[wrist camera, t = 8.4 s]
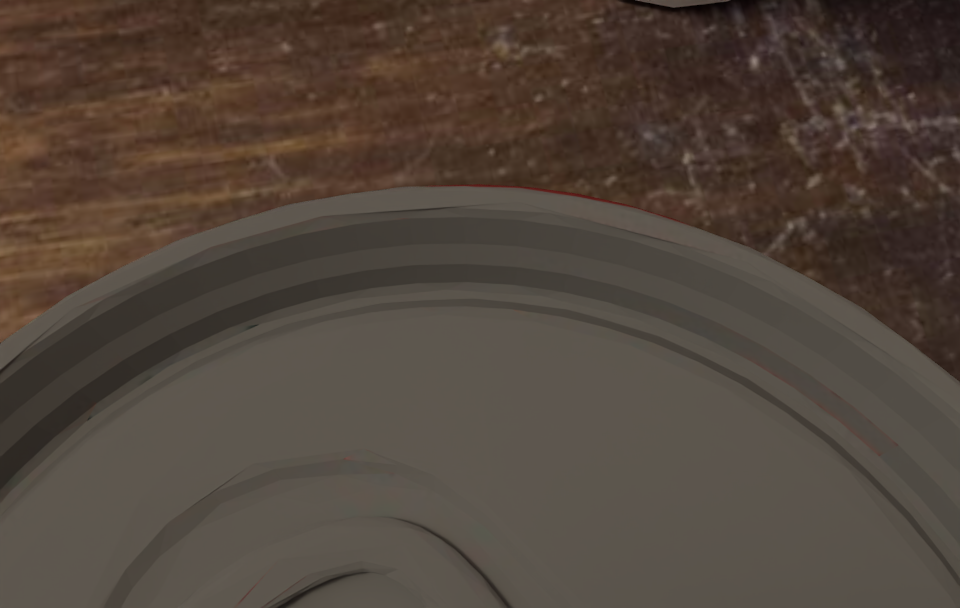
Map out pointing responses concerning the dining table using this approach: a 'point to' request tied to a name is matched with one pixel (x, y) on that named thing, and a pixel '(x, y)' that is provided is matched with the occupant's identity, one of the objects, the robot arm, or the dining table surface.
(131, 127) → the dining table surface
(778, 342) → the beverage can
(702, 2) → the bottle
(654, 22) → the dining table surface
